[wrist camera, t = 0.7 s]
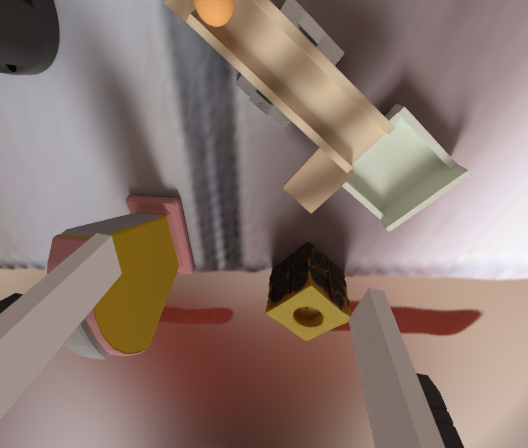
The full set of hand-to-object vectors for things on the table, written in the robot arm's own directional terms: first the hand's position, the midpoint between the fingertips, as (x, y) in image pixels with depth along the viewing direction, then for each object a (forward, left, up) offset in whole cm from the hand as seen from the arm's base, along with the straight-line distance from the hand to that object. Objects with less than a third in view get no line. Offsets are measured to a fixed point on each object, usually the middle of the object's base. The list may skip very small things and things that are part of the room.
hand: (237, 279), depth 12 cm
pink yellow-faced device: (-6, -26, -25) cm, 37 cm away
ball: (-13, +8, -19) cm, 25 cm away
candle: (+19, -14, -25) cm, 34 cm away
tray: (+13, +8, -25) cm, 29 cm away
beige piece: (-4, +5, -22) cm, 23 cm away
